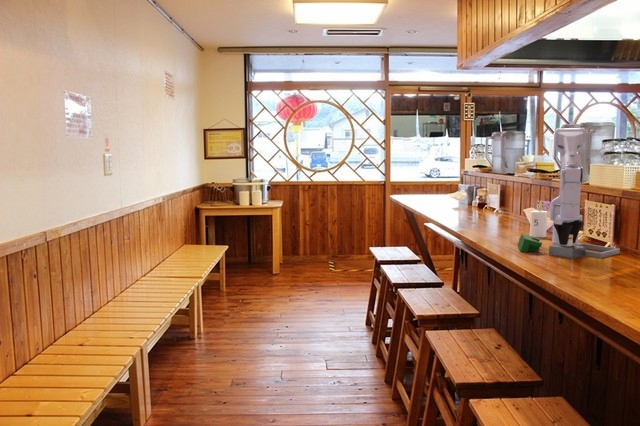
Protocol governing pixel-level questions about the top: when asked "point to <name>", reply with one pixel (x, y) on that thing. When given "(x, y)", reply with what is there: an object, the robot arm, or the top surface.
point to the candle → (538, 222)
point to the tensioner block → (567, 251)
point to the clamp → (529, 243)
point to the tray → (607, 250)
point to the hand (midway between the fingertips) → (567, 243)
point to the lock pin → (569, 242)
